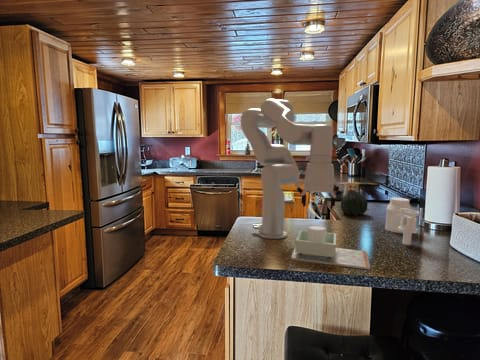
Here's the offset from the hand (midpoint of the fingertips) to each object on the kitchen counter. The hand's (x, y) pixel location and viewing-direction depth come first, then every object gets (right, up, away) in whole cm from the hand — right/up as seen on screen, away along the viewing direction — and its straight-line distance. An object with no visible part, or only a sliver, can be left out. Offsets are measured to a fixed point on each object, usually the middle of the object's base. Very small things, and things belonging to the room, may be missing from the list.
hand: (317, 206), depth 114 cm
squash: (+37, -10, +67) cm, 78 cm away
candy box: (+44, -7, +91) cm, 102 cm away
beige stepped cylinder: (+41, -17, +16) cm, 47 cm away
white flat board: (+5, -18, +1) cm, 19 cm away
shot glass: (0, -15, +2) cm, 15 cm away
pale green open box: (0, -17, +2) cm, 17 cm away
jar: (+48, -14, +37) cm, 62 cm away
